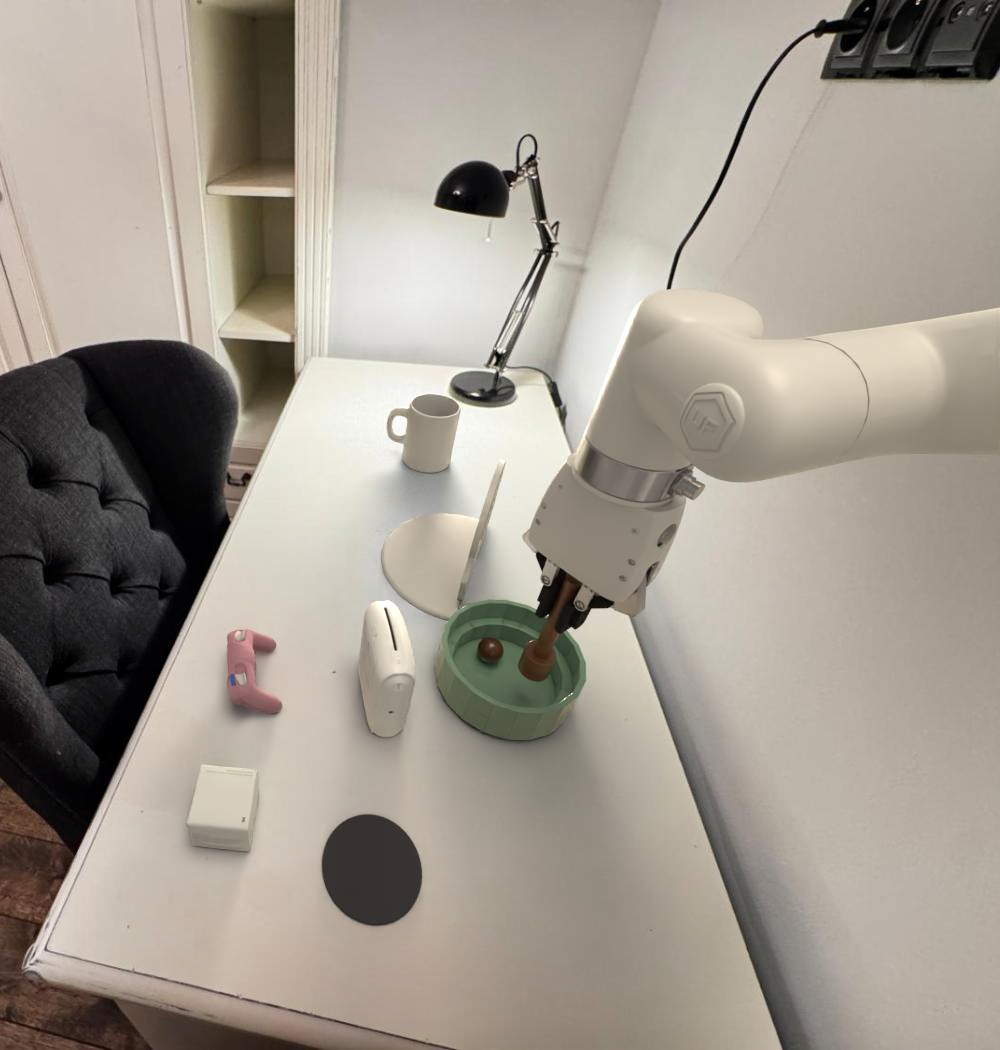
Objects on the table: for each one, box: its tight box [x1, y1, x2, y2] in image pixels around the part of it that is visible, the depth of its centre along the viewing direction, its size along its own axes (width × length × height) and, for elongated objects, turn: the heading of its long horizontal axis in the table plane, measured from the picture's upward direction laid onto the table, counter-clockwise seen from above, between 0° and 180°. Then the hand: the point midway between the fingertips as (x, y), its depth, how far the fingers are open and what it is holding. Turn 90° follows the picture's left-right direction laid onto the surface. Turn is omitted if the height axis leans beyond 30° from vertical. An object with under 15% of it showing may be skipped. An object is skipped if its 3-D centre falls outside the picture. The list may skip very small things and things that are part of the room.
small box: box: [185, 764, 260, 852], centre depth 53 cm, size 6×6×5 cm
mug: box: [386, 393, 462, 474], centre depth 99 cm, size 12×8×11 cm
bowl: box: [434, 598, 587, 741], centre depth 65 cm, size 15×15×6 cm
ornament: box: [380, 459, 507, 621], centre depth 78 cm, size 22×13×17 cm, turn 155°
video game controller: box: [226, 628, 283, 714], centre depth 65 cm, size 10×5×7 cm, turn 6°
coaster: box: [321, 813, 423, 926], centre depth 52 cm, size 9×9×1 cm
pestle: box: [518, 574, 583, 682], centre depth 57 cm, size 3×3×14 cm
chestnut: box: [477, 637, 504, 663], centre depth 68 cm, size 3×3×3 cm
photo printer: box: [357, 600, 417, 738], centre depth 61 cm, size 10×4×12 cm, turn 4°
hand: (557, 617), depth 56 cm, fingers closed on pestle, 1 cm apart
